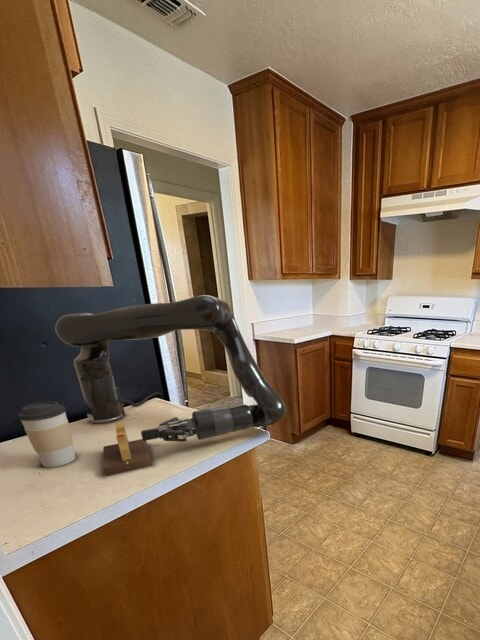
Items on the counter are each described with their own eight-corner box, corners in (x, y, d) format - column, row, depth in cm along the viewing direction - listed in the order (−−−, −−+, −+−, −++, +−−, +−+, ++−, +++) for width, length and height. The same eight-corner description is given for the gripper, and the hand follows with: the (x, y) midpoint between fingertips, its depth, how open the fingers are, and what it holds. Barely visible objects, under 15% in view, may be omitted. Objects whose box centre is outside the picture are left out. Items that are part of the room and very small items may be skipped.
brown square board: (93, 454, 92) (91, 447, 91) (157, 442, 99) (155, 435, 98) (91, 480, 79) (89, 471, 79) (164, 463, 86) (162, 455, 86)
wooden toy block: (121, 444, 92) (115, 422, 90) (128, 443, 93) (123, 421, 91) (122, 461, 83) (116, 437, 81) (131, 459, 84) (125, 435, 82)
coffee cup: (44, 456, 91) (23, 401, 85) (84, 450, 94) (67, 396, 88) (31, 472, 83) (8, 412, 78) (75, 465, 86) (56, 407, 81)
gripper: (205, 402, 98) (136, 413, 90) (217, 416, 87) (140, 430, 79) (209, 427, 101) (142, 440, 93) (221, 444, 90) (147, 460, 82)
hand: (142, 436), depth 86 cm, fingers closed
